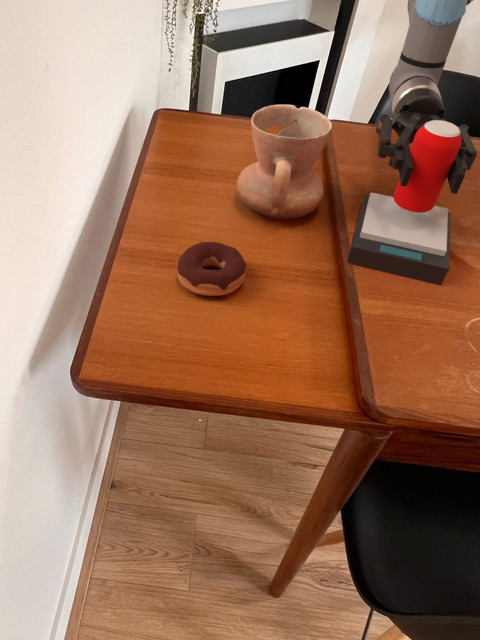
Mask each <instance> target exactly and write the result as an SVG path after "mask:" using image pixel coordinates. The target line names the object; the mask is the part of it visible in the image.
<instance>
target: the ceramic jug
mask: <svg viewBox="0 0 480 640" xmlns="http://www.w3.org/2000/svg"><path fill="white" fill-rule="evenodd" d="M269 126H276V127H282V129H281V130H280V131H279V132H278V133H277V134H273V133H270V132H267V129H266V128H267V127H269ZM250 127H251V137H252V142H253V146H254V151H255V155H256V158H257V161H255V162H252V163H251V164H249V165H247V166H246V167H245V168H243V170H242V171H241V172H240V173H239V175H238V177H237V180H236V193H237V195H238V197H239V200H240V201H241V202H242V203H243V204H244V205H245V207H247V208H248V209H250V210H251V211H254V212H256V213H257V214H259V215H262V216H265V217H268V218H271V219H280V220H284V219H285V220H288V219H296V218H300V217H304V216H306V215H309V214H311V213H312V212H313V211H314V210H316V209H317V208H318V206H319V205H320V204H321V202H322V200H323V197H324V194H325V193H324V191H325V190H324V185H323V181H322V180H321V178H320V176H319V174H318V173H316V171H315V170H314V169H312V167H313V166H314V165H315V163H316V162H317V161H318V159H319V157H320V156H321V154H322V152H323V150H324V149H325V146H326V144H327V142H328V141H329V138H330V135H331V133H332V129H333V123H332V122H331V120H330V118H328V117H327V116H326V115H325V114H323V113H321V112H319V111H318V110H315V109H313V108H308V107H307V106H306V107H305V106H301V107H297V106H295V105H293V104H273V105H272V104H271V105H268V106H264V107H261V108H259V109H257V110H256V111H255V112H254V113H253V114H252V116H251V120H250Z"/></svg>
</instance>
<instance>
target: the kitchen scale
mask: <svg viewBox="0 0 480 640" xmlns="http://www.w3.org/2000/svg"><path fill="white" fill-rule="evenodd" d="M451 216H452V215H451V212H450V211H449V208H447V207H442V206H438V205H435V206H434V208H433V209H431V210H430V211H428V212H426V213H420V214H413V213H408V212H405V211H403V210H402V209H400V208H399V207H398V206H397V205H396V204H395V202H394V198H393V196H391V195H385V194H381V193H376V192H371V191H370V193H369V194H364V195H363V198H362V201H361V205H360V207H359V212H358V216H357V221H356V222H355V223H356V224H355V227H354V231H353V236H352V239H351V244H350V247H349V248H350V249H349V252H348V257H347V260H346V263H347V262H349V263H352V264H351V265H353V264H354V266H358V267H362V268H366V269H371V270H375V271H379V272H384V273H388V274H392V275H396V276H401V277H405V278H409V279H412V280H413V279H414V280H418V281H421V282H426V283H430V284H435V285H438V286H439V285H440V286H442V284H443V282H444V280H445V278H446V276H447V274H448V273H449V271H450V258H451V257H450V254H451V253H450V252H451V251H450V249H451ZM349 263H348V264H349Z"/></svg>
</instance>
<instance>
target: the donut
mask: <svg viewBox="0 0 480 640" xmlns="http://www.w3.org/2000/svg"><path fill="white" fill-rule="evenodd" d="M206 267H207V268H208V267H212V268H217V269H206ZM246 272H247V264H246V261H245V259H244V257H243V256H242V254H241V253H240V251H238V249H237V248H235V247H234V246H230V245H227V244H225V243H221V242H217V241H200V242H198V243H196V244H193V245H192V246H190V247H188V248H187V249H185V250H184V251H183V253H182V254H181V255H180V257H179V259H178V262H177V273H176V275H177V279H178V281H179V283H180V284H181V285H182V286H183V287H184V288H185V289H187V290H188V291H190V292H192V293H194V294H196V295H200V296H209V297H210V296H211V297H215V296H216V297H217V296H224V295H225V296H226V295H228V294H231V293H232V292H234V291H236V290H237V289H239V288H240V286H241V285H243V283H244V281H245V280H246V275H247V273H246Z"/></svg>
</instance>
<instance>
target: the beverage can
mask: <svg viewBox="0 0 480 640" xmlns="http://www.w3.org/2000/svg"><path fill="white" fill-rule="evenodd" d="M446 121H447V120H446ZM446 121H441V120H433V121H429V122H427V123H425V124H424V125H423V126H422V127H421V128H420V129H419V130H418V131H417V133H416V135H415V137H414V140H413V143H411V145H410V151H411V156H412V162H413V171H412V173H411V176H410V179H409V181H408V184H407V187H406V186H401V182H400V178H399V179H398V182H397V184H396V187H395V190H394V193H393V196H392V197H393V198H394V202H395V204H396V205H397V206H398V207H399V208H400V209H402V210H403V211H405V212H408V213H413V214H420V213H426V212H428V211H430V210H431V209H433V208H434V206H436V204H437V201H438V200H439V197H440V195H441V192H442V189H443V188H444V184H445V183H446V180H447V176H448V174H449V171H450V169H451V167H452V165H453V162H454V160H455V158H456V155H457V153H458V151H459V148H460V146H461V132H460V130H459V128H458V127H459V126H457V125H455V124H454V123H452V122H449V121H447V122H446Z"/></svg>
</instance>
